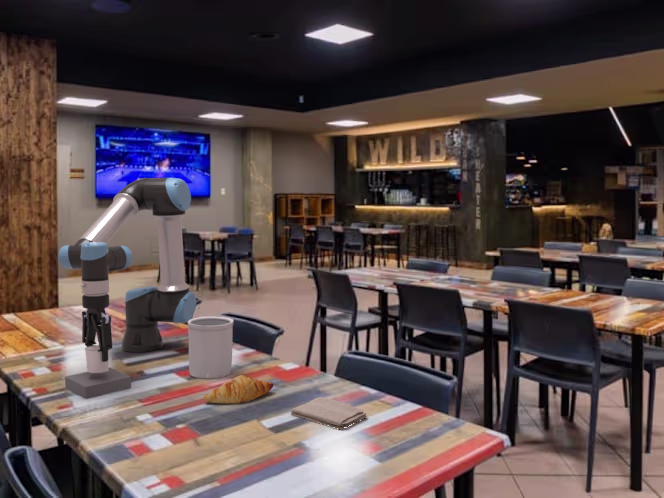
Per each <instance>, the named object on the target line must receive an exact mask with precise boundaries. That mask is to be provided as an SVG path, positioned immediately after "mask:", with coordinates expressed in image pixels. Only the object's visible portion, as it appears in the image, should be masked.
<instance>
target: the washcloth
mask: <svg viewBox="0 0 664 498" xmlns="http://www.w3.org/2000/svg"><path fill="white" fill-rule="evenodd" d="M290 415H291V416H293V415H294V416H293V417H296V416H297V418H299V417H301V418H300V419H303V418H305V419H304V420H306V419H307V420H306V421H309V420H311V421H310V422H312V421H315V422H314V423H316V422H319V423H318V424H320V423H321V424H320V425H322V424H325V425H324V426H326V425H329V426H331V427H330V428H332V427H335V428H338V429H342V430H344V429H343V428H344V427H348V426H349V425H351V424H353V423H356V422H358V421H360V420H362V419H364V418H365V419H367V418H366V417H368V416H367V413H365V412H364V409H363V408H362V409H361V408H359V407H355V406H354V405H352V404H351V403H349V402H348V403H347V402H341V401H339V400H335V399H329V398H327V397H322V396H321V397H320V396H319V397H316V398H314V399H311V400H310V401H308V402H306V403H304V404H301V405H298V406H297V407H294V408H292V409H291V411H290ZM365 419H364V420H365ZM362 421H363V420H362ZM360 422H361V421H360ZM358 423H359V422H358ZM356 424H357V423H356ZM329 426H328V427H329ZM335 428H334V429H335ZM348 428H349V427H348ZM338 429H337V430H338Z"/></svg>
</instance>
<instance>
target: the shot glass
mask: <svg viewBox="0 0 664 498" xmlns="http://www.w3.org/2000/svg"><path fill="white" fill-rule="evenodd" d="M95 345H96V346H90V347H87V346H86V347H87V348H86V347H85V348H84V351H85V358H86V359H85V360H86V368H87V372H90V373H99V359H98V350H100V347H99V344H98V345H97V344H95ZM109 354H110V349H109V350H108V358H109Z"/></svg>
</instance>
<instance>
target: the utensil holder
mask: <svg viewBox="0 0 664 498" xmlns="http://www.w3.org/2000/svg"><path fill="white" fill-rule="evenodd" d="M234 323H235V322H234V319H233V318H231V317H226V316H216V315H215V316H210V315H209V316H200V317H199V316H198V317H195V318H193V317H192V318H191V319H190V320H189V321H188V322H187V327H188V369H189V375H190V376H192V377H193V378H197V379H218V378H219V377H220V378H223V376H224V377H226V375H227V376H229V375H230V374H231V373H232V368H233V367H232V365H233V363H232V362H233V332H234V331H233V329H234V328H233V326H234ZM220 378H219V379H220Z"/></svg>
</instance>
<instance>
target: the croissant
mask: <svg viewBox="0 0 664 498" xmlns="http://www.w3.org/2000/svg"><path fill="white" fill-rule="evenodd" d="M273 388H274V383H273V382H271V381H269V382H267V381H266V380H258V379H257V378H251V377H250V376H249V375H244V374H243V375H242V374H240V375H237V376H235V377H233V378H232V379H231V381H226V382H224V383H223V384H221V386H219V387H217V388H213V389H212V390H211V391H210V392H209V393H207V394H203V395H204V396H203V400H204V402H207V403H212V404H228V405H229V404H231V405H232V404H241V403H247V402H251V401H254V400H255V399H257V398H261V397H263V396H264V395H266V394H268V393H269V392H270V391H271V390H272V389H273ZM250 400H251V401H250ZM246 401H247V402H246Z"/></svg>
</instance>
